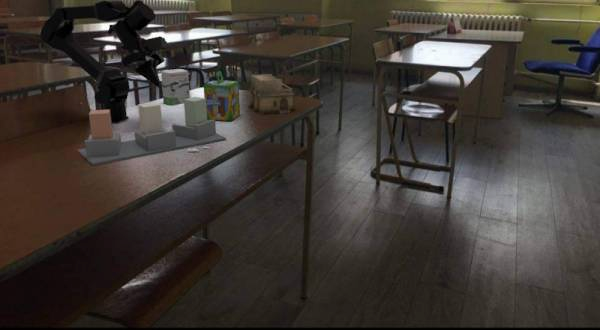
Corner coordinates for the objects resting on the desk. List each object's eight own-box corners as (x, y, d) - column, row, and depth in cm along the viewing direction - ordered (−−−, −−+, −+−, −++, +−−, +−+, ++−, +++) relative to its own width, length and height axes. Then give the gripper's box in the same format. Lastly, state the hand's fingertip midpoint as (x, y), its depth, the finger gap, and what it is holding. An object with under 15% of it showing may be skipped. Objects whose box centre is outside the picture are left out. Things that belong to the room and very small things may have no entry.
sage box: (186, 134, 141) (183, 99, 138) (197, 130, 145) (195, 96, 142) (197, 136, 139) (194, 101, 136) (207, 132, 143) (205, 98, 140)
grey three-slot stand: (76, 150, 130) (74, 133, 128) (202, 128, 150) (201, 113, 149) (93, 165, 119) (90, 147, 118) (226, 140, 140) (225, 124, 138)
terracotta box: (95, 148, 129) (90, 110, 125) (114, 147, 130) (109, 109, 126) (94, 153, 125) (88, 114, 122) (113, 151, 126) (108, 113, 123)
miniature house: (257, 116, 166) (256, 82, 162) (246, 107, 178) (245, 75, 174) (299, 113, 170) (300, 79, 167) (286, 104, 183) (286, 72, 179)
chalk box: (232, 122, 158) (230, 75, 153) (204, 120, 160) (202, 73, 155) (241, 115, 167) (239, 70, 162) (215, 113, 169) (212, 69, 164)
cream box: (141, 140, 135) (138, 104, 132) (157, 137, 138) (154, 102, 134) (147, 144, 132) (143, 107, 129) (163, 141, 135) (160, 105, 131)
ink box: (170, 105, 178) (167, 72, 174) (163, 103, 182) (160, 70, 178) (191, 102, 184) (188, 69, 180) (183, 100, 187) (181, 68, 183)
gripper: (139, 20, 136) (170, 70, 138) (164, 28, 155) (191, 72, 156) (107, 42, 138) (137, 91, 139) (135, 47, 156) (162, 91, 158)
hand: (159, 85), depth 148 cm, fingers closed
